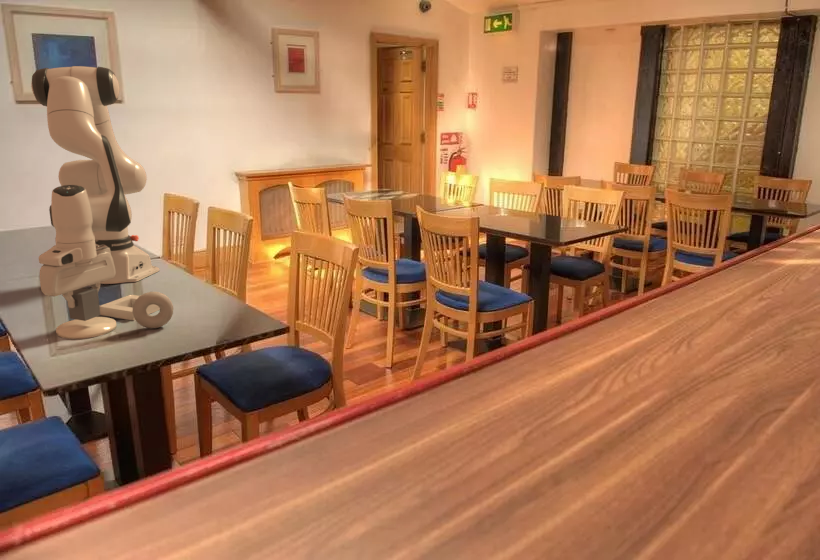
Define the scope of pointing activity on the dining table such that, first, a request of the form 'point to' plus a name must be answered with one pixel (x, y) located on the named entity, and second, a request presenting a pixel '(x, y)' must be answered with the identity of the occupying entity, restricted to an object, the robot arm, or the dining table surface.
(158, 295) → the donut
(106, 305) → the pocket collar
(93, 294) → the block
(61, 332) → the peach ellipsoid
